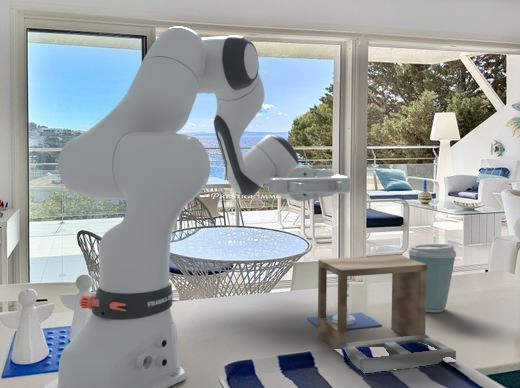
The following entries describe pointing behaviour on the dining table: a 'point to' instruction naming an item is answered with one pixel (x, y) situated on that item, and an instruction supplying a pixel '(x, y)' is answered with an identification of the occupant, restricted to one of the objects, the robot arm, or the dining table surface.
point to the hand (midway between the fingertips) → (322, 187)
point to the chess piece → (349, 318)
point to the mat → (361, 322)
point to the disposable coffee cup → (435, 272)
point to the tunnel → (403, 312)
